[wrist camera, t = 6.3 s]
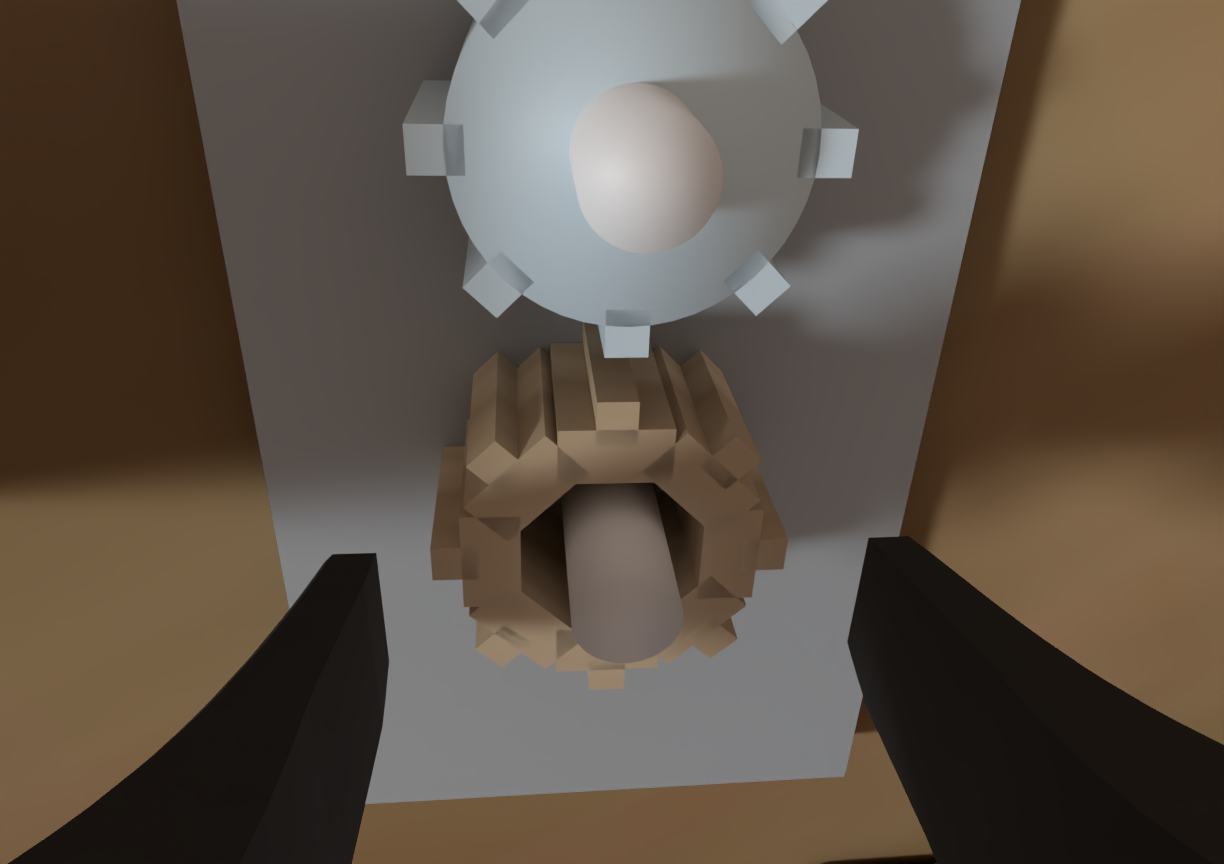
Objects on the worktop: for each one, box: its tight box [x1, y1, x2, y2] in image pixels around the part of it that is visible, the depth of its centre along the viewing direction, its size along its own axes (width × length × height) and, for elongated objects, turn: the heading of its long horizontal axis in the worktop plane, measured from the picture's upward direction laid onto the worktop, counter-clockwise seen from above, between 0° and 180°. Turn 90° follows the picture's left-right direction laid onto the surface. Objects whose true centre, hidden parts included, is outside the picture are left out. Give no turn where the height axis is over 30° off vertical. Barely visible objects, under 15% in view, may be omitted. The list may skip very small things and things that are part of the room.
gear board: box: [176, 0, 1021, 804], centre depth 15 cm, size 12×22×6 cm, turn 178°
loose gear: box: [430, 322, 788, 690], centre depth 16 cm, size 6×6×3 cm
